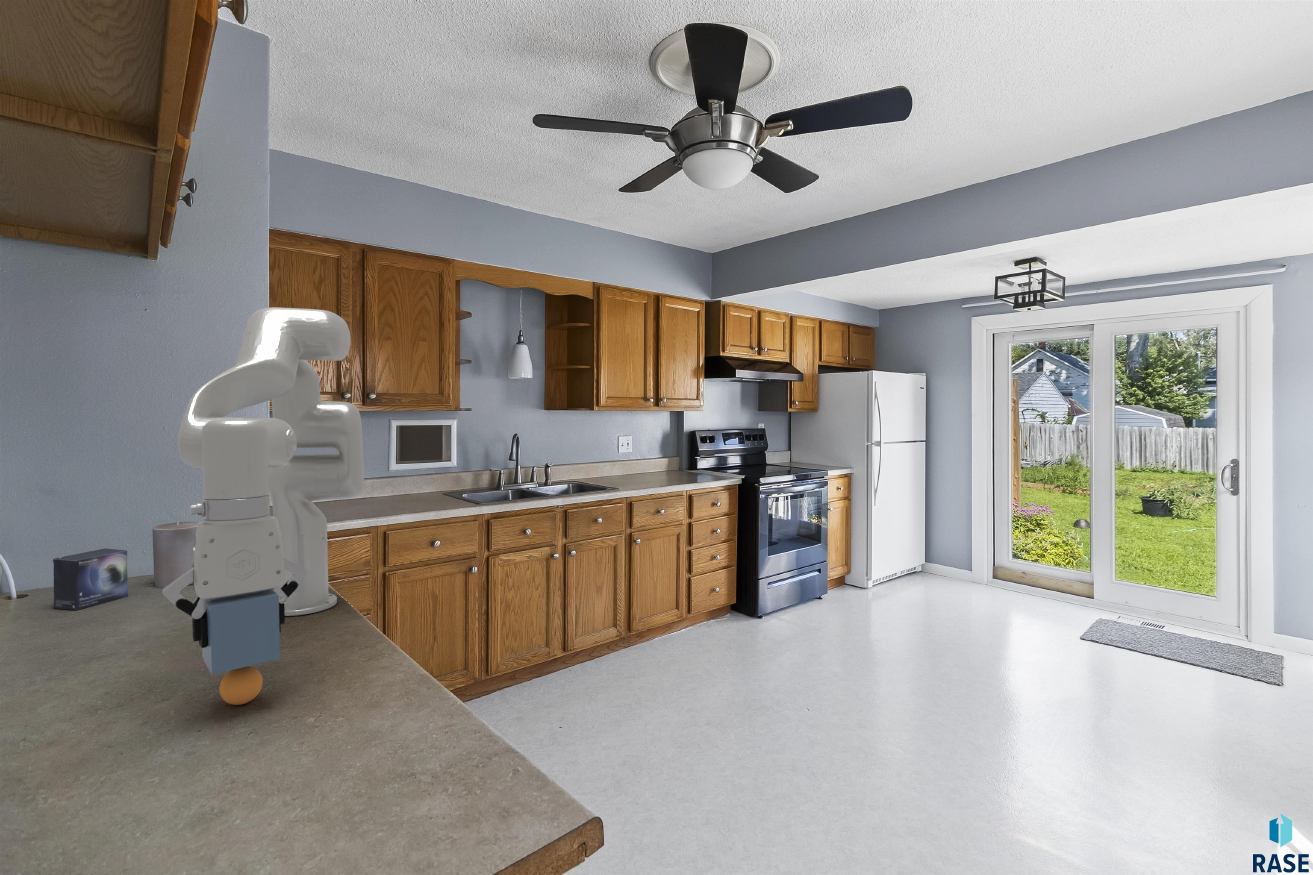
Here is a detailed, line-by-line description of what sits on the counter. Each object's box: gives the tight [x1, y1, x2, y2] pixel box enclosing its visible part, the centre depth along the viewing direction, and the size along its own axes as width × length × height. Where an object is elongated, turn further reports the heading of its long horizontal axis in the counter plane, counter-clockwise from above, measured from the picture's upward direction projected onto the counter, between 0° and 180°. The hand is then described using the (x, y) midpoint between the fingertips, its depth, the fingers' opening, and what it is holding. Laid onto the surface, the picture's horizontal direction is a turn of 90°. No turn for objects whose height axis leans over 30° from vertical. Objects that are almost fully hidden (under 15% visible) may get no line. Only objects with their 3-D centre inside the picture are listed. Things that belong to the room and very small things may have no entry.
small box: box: [52, 547, 129, 611], centre depth 133 cm, size 11×6×10 cm, turn 168°
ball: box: [218, 666, 264, 706], centre depth 87 cm, size 5×5×5 cm
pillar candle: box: [151, 519, 200, 589], centre depth 148 cm, size 10×10×15 cm
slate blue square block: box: [201, 591, 281, 675], centre depth 86 cm, size 8×8×9 cm
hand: (240, 636), depth 86 cm, fingers closed on slate blue square block, 7 cm apart
